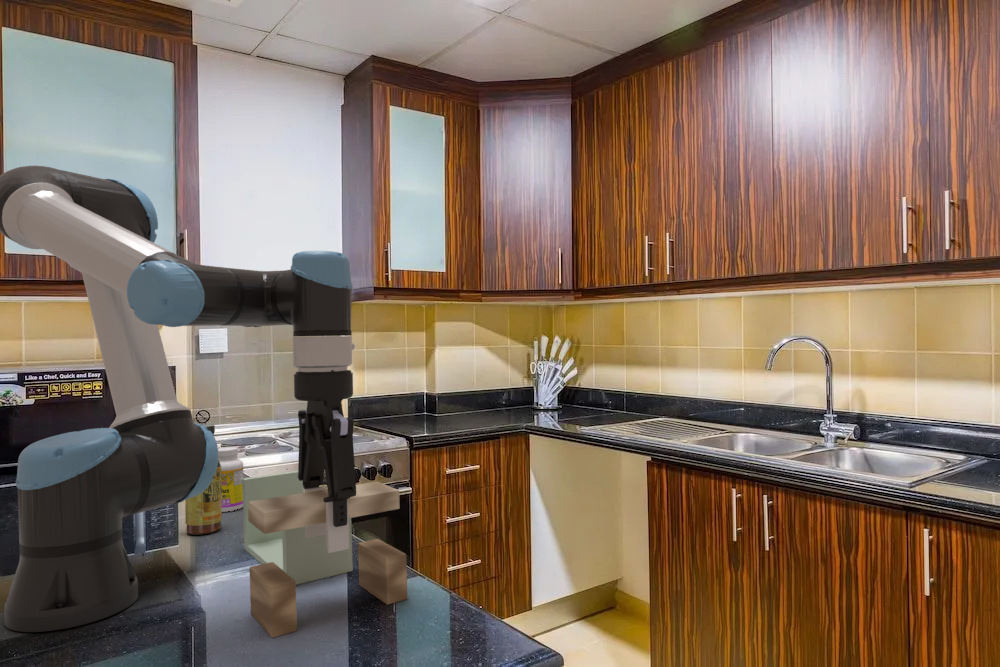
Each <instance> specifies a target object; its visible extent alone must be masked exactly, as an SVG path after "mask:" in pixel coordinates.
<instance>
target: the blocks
mask: <svg viewBox="0 0 1000 667" xmlns="http://www.w3.org/2000/svg"><path fill="white" fill-rule="evenodd" d="M357 549H358V550H357V556H358V559H357V560H358V586H360V587H361V588H362V589H364V590H365V591H367V592H368V593H370V594H371V595H373V596H374V597H376V598H377V599H378V600H380V601H382V602H383V603H385V604H386V605H391V604H394V603H398V602H401V601H405V600H408V575H407V574H408V570H407V568H408V566H407V564H408V563H407V554H406V553H405V552H403V551H402V550H400V549H398V548H395V547H393V546H392V545H390V544H388V543H386V542H384V541H383V540H381V539H378V538H375V539H371V540H370V539H369V540H366V541H360V542H357ZM249 590H250V591H249V593H250V597H249V598H250V614H251V615H252V617H253V618H254V619H255V620H256V621H257V622H258V624H260V627H261V626H262V628H263V629H264V631H265V632H266V633H267V634H268V635H269V636H270V637H271V638H276V637H281V636H283V635H287V634H290V633H294V632H297V631H298V620H297V618H298V615H297V585H296V581H295V580H294V579H293V578H291V577H290V576H289V575H288V574H287V573H286V572H284V571H283V570H282V569H281V568H280V567H278V566H277V565H276V564H275V563H274V562H270V563H266V564H261V563H260V564H257V565H253V566H249Z"/></svg>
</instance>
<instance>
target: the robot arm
mask: <svg viewBox="0 0 1000 667" xmlns="http://www.w3.org/2000/svg"><path fill="white" fill-rule="evenodd" d="M0 174H1V173H0ZM158 229H159V221H158V214H157V211H156V208H155V206H154V204H153V202H152V201H151V199H150V197H149V196H148V195H147V194H146V193H145V192H143V191H142V190H141V189H140V188H139V187H137V186H135V185H131V184H127V183H124V182H122V181H119V180H117V179H111V178H101V177H95V176H91V175H86V174H81V173H76V172H73V171H68V170H67V171H66V170H63V169H58V168H54V167H50V166H45V165H44V166H43V165H25V166H19V167H15V168H12V169H9V170H7V171H5V172H3V173H2V174H1V175H0V234H2V235H3V236H4V237H6V238H7V239H9V240H10V241H13V242H14V243H15V244H18V245H19V246H21V247H24V248H28V249H31V250H43V251H46V252H48V253H50V254H52V255H53V256H54V257H56V258H58V259H59V260H62V261H63V262H65V263H67V264H68V266H69V267H71V268H72V269H74V270H75V271H78V272H80V273H81V275H82V279H83V284H84V287H85V291H86V295H87V299H88V300H87V301H88V304H89V308H90V312H91V316H92V320H93V326H94V327H95V328H94V329H95V334H96V337H97V340H98V346H99V349H100V354H101V358H102V363H103V366H104V371H105V375H106V379H107V383H108V386H109V391H110V394H111V400H112V404H113V407H114V411H115V415H116V416H115V419H114V420H113V422H112V423H111V424H110V426H109V427H100V428H99V427H97V428H88V429H82V430H78V431H76V430H75V431H69V432H64V433H60V434H56V435H52V436H49V437H46V438H43V439H39V440H37V441H35V442H32V443H31V444H29V445H28V446H26V447H25V448H24V449H23V450H22V451H21V452H20V454H19V456H18V460H17V469H16V470H17V471H16V472H17V473H16V479H15V485H16V488H17V510H18V511H17V512H18V514H17V515H18V541H19V542H18V543H19V561H18V565H17V568H16V570H15V574H14V577H13V580H12V583H11V586H10V587H9V588H10V589H9V592H8V595H7V598H6V600H5V603H4V608H3V610H4V611H3V612H4V614H3V615H4V626H5V627H6V628H7V629H8V630H11V631H15V632H21V633H42V632H51V631H52V632H53V631H59V630H65V629H70V628H75V627H79V626H83V625H87V624H91V623H94V622H96V621H100V620H103V619H106V618H109V617H111V616H113V615H116V614H118V613H120V612H122V611H123V610H125V609H127V608H129V607H130V606H131V605H133V604H134V603H135V602H136V601H137V600H138V598H139V580H138V577H137V574H136V572H135V570H134V567H133V565H132V563H131V560H130V557H129V555H128V553H127V551H126V548H125V546H124V542H123V518H125V517H129V516H133V515H136V514H141V513H144V512H148V511H152V510H155V509H159V508H162V507H166V506H170V505H171V506H172V505H177V504H179V503H180V504H181V503H182V502H185V500H186V499H189V498H192V497H195V496H197V495H199V494H201V493H202V492H203V491H205V490H206V488H207V487H208V486H209V485H210V483H211V482H212V479H213V476H214V475H215V473H216V470H217V465H218V448H219V447H218V444H217V439H216V437H215V436H214V435H215V434H214V435H213V434H212V432H211V431H208V430H207V428H206V427H205V426H203V425H204V424H200V423H198V422H195V423H194V419H193V415H192V414H193V413H192V410H191V409H190V408H189V407H187V406H186V405H183V404H182V403H180V402H179V401H178V399H177V395H176V391H175V387H174V383H173V380H172V376H171V372H170V368H169V364H168V360H167V355H166V353H165V347H164V344H163V340H162V336H161V332H160V329H159V325H160V326H165V327H168V328H177V327H189V326H190V327H192V326H193V327H194V326H197V327H200V326H201V327H202V326H204V327H205V326H207V327H208V326H209V327H210V326H214V327H215V326H223V327H224V326H226V327H227V326H228V327H229V326H230V327H231V326H232V327H235V326H236V327H237V326H239V327H240V326H241V327H246V328H251V327H253V328H261V327H269V326H271V327H272V326H292V330H293V332H292V333H293V334H292V336H293V337H292V348H293V349H292V358H293V359H292V360H293V361H292V364H293V367H294V368H297V370H298V371H295V373H294V374H293V389H294V390H293V391H294V392H293V394H294V395H293V396H294V398H295V399H296V400H297V401H302V402H307V404H306V409H302V410H301V409H300V410H298V412H297V417H298V427H299V428H298V434H299V435H298V438H299V439H298V464H297V465H298V470H297V471H298V479H299V481H303V489H304V493H306V492H313V491H319V490H326V489H328V495H329V497H325V498H323V500H324V502H325V503H326V523H321V524H315V525H310V526H305V537H306V538H311V537H316V536H321V535H326V552H328V553H332V552H336V551H341V550H346V549H349V523H348V499H349V498H350V497H353V496H356V485H357V483H356V468H355V467H356V466H355V452H354V450H355V449H354V437H353V436H354V424H355V422H354V421H355V420H354V418H353V417H352V416H351V417H349V416H348V417H345V415H344V412H343V411H344V410H343V405H342V401H343V400H347V399H350V398H352V397H353V396H354V378H353V377H354V376H353V375H354V373H353V372H352V370H350V369H348V367H351V365H353V351H354V350H355V348H356V347H355V343H353V341H352V340H353V338H352V336H353V332H352V298H353V297H352V296H353V295H352V290H353V284H352V275H351V274H352V273H351V262H350V259H349V258H348V256H347V255H346V254H344V253H341V252H338V251H330V250H329V251H328V250H306V251H305V250H304V251H300V252H296V253H295V254H293V256H292V258H291V265H290V269H285V270H266V271H265V270H254V269H245V268H235V267H234V268H233V267H222V266H214V265H205V264H199V263H195V262H192V261H190V260H188V259H186V258H184V257H183V256H180V255H178V254H176V253H174V252H172V251H171V250H169V249H166V248H165V247H163V246H160V245H159V244H157V243H155V241H156V240H157V236H158V234H157V233H156V230H158ZM324 475H325V476H324Z"/></svg>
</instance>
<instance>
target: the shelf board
mask: <svg viewBox="0 0 1000 667" xmlns="http://www.w3.org/2000/svg"><path fill="white" fill-rule="evenodd" d="M325 497H329V495H328V488H326V490H319V491H313V492H306V493H305V492H304V493H300V494H294V495H287V496H281V497H275V498H268V499H262V500H256V501H249V502H248V520H249V522H250V523H252V524H253V525H254V526H255V527H256V528H258V529H259V530H260V531H261V532H263V533H264V534H267V533H273V532H278V531H283V530H289V529H294V528H299V527H305V526H310V525H315V524H321V523H326V503H325V502H324V500H323V498H325ZM399 509H400V490H399V489H397V488H395V487H392V486H389V485H387V484H384V483H382V482H379V481H371V482H365V483H359V484H357V483H356V496H353V497H350V498H349V499H348V518H351V519H352V518H357V517H362V516H368V515H373V514H379V513H384V512H388V511H396V510H399Z"/></svg>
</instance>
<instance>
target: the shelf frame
mask: <svg viewBox="0 0 1000 667" xmlns="http://www.w3.org/2000/svg"><path fill="white" fill-rule="evenodd" d="M242 485H243V507H242V509H243V513H242V516H243V544H244V546H243V548H244V549H243V550H245V551H246V552H247V553H248V554H250V556H251V557H252V558H254V559H255V560H256V561H257V562H258V563H259V564H260V565H261V564H266V563H270V562H274V563H275V564H276V565H277V566H278V567H280V568H281V569H282V570H283V571H284V572H286V573H287V574H288V575H289V576H290V577H291V578H293V579H294V580H295V581H296V586H297V585H300V584H304V583H308V582H309V583H310V582H312V581H317V580H321V579H325V578H329V577H333V576H337V575H341V574H346V573H349V572H353V570H354V569H353V566H354V565H353V564H354V563H353V539H352V538H353V536H352V535H353V534H352V533H353V531H352V528H353V527H352V518H348V523H349V549H346V550H341V551H336V552H332V553H328V552H326V535H321V536H316V537H311V538H306V537H305V527H299V528H294V529H289V530H283V531H278V532H273V533H267V534H264V533H263V532H261V531H260V530H259V529H258V528H256V527H255V526H254V525H253V524H252V523H250V522H249V520H248V502H249V501H256V500H262V499H268V498H275V497H281V496H287V495H294V494H300V493H305V488H304V487H303V481H299V479H298V470H292V471H286V472H278V473H273V474H265V475H258V476H251V477H250V476H249V477H243V479H242Z"/></svg>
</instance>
